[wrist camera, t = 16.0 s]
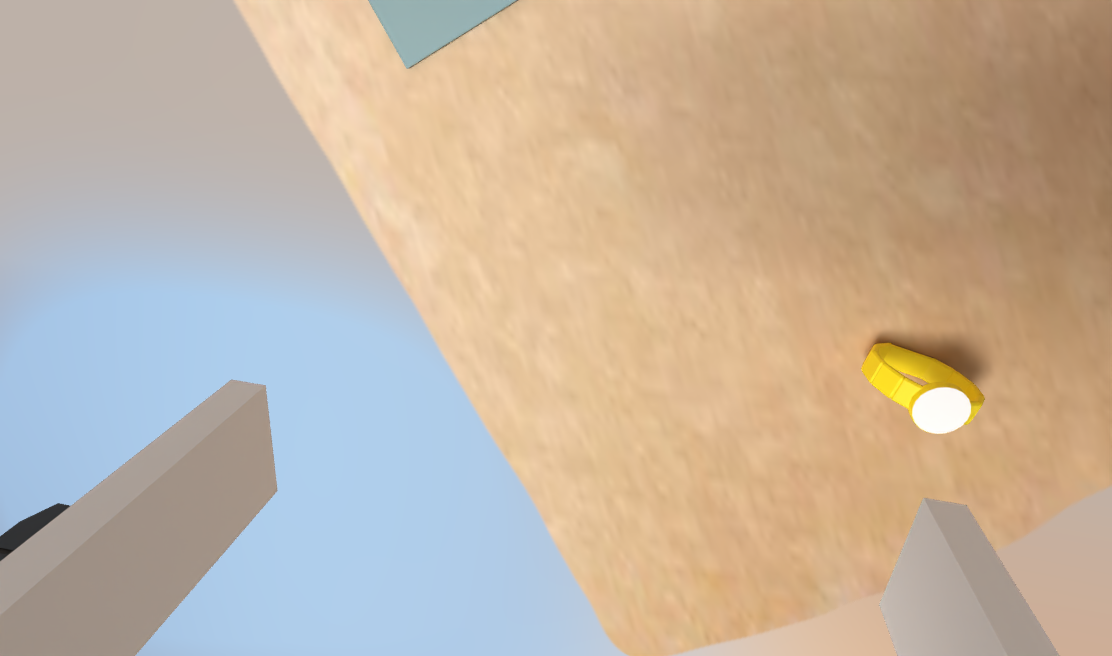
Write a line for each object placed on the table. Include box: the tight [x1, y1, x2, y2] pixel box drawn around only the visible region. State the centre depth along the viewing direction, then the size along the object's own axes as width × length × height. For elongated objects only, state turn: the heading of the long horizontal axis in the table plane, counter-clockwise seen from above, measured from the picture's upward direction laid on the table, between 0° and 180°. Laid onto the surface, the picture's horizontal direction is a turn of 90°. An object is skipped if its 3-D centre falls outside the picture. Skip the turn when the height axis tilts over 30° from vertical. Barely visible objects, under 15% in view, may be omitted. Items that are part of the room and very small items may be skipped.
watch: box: [861, 343, 985, 434], centre depth 36 cm, size 6×3×6 cm, turn 73°
